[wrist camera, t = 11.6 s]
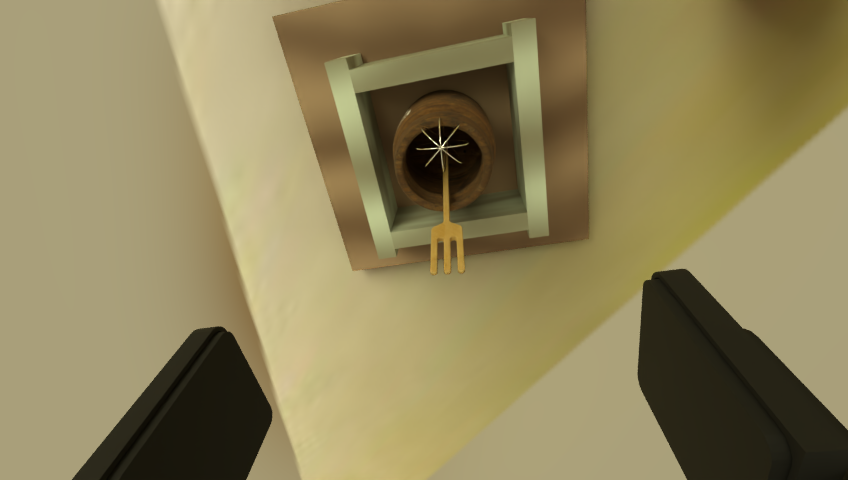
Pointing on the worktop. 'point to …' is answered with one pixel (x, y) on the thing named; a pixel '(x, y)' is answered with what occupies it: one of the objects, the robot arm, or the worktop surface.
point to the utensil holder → (444, 161)
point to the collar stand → (445, 70)
